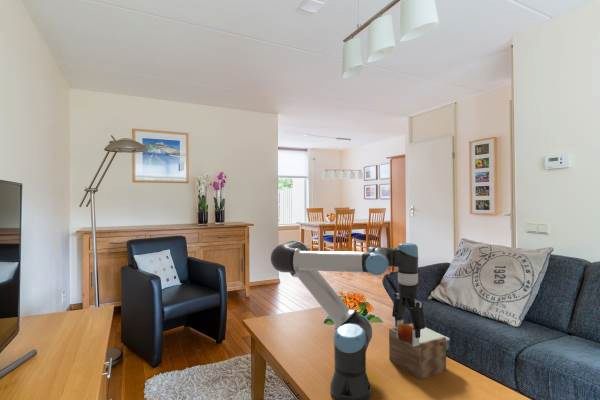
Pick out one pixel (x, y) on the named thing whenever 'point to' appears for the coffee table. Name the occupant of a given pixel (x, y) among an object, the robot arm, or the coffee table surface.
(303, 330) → the coffee table surface
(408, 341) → the fruit
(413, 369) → the brown wooden box
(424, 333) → the trapdoor
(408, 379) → the coffee table surface
